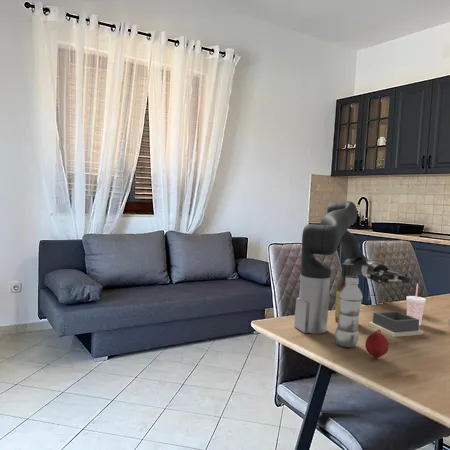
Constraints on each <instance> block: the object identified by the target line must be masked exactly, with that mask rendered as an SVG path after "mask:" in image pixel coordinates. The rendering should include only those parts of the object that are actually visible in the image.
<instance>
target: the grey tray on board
mask: <svg viewBox="0 0 450 450" xmlns="http://www.w3.org/2000/svg"><path fill="white" fill-rule="evenodd" d="M372 314H373V315H372V321H368V322H367V325H368V326H370V327H372V328H374V329H376V330H378V329H380V330H381V333H384V334H386V335H388V336H390V337H392V338H398V337H399V338H400V337H408V336H410V337H411V336H419V335H424V330H421V329H419V326H420V325H419V319H416V318H413V317H411V316H408V315H407V313H406V314H405V313H403V312H400V311H399V310H392V311H389V310H388V311H376V312H375V311H374V312H373V313H372Z"/></svg>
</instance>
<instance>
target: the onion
mask: <svg viewBox="0 0 450 450" xmlns="http://www.w3.org/2000/svg"><path fill="white" fill-rule="evenodd" d="M364 345H365V350H366V352H367V353H368V354H369V355H370V356H371V357H372V358H373V359H376V360H377V359H379V358H382V357H383V356H384V355H386V354H387V353H388V351H389V347H390V346H389V341H388V339H387V337H385V335H384V334H382V331H381V330H380V329H378V330H377V329H376V330H375V331H374V332H372V333H371V334H369V335H368V336H367V337H366V340H365V344H364Z"/></svg>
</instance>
